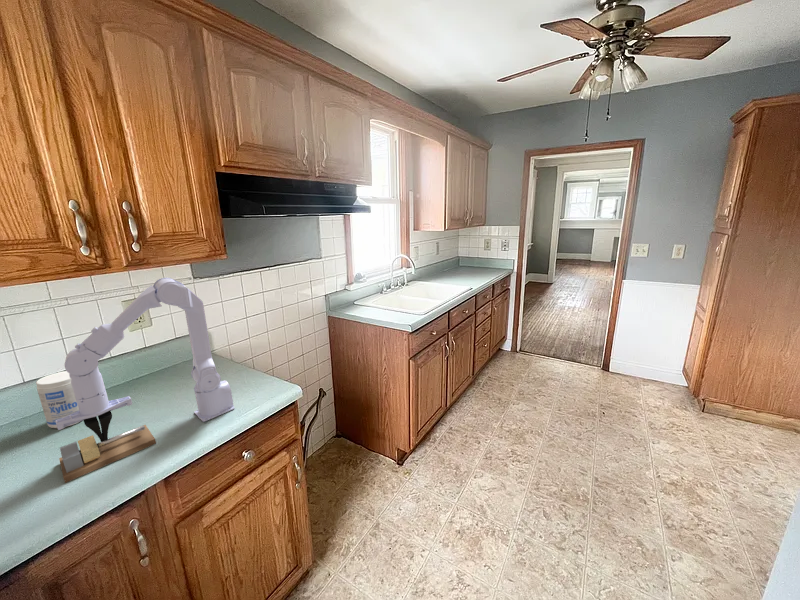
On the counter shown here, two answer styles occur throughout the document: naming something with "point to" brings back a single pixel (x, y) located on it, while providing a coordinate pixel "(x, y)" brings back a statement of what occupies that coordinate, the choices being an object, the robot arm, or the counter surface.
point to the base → (104, 452)
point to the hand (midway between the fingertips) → (103, 439)
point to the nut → (89, 449)
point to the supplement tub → (57, 397)
